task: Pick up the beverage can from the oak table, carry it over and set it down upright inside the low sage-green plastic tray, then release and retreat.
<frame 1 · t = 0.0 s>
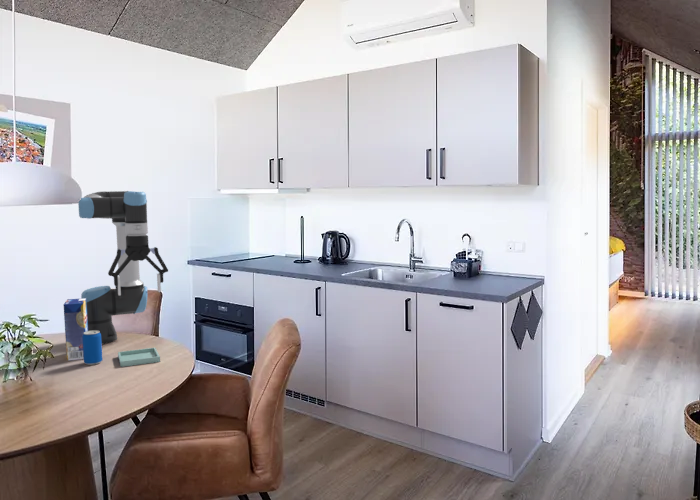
hand: (139, 293, 203), 28 cm above the table, fingers open, 13 cm apart
beverage box: (78, 356, 222), on the table
beverage can: (93, 363, 213), on the table
tray: (138, 359, 217), on the table
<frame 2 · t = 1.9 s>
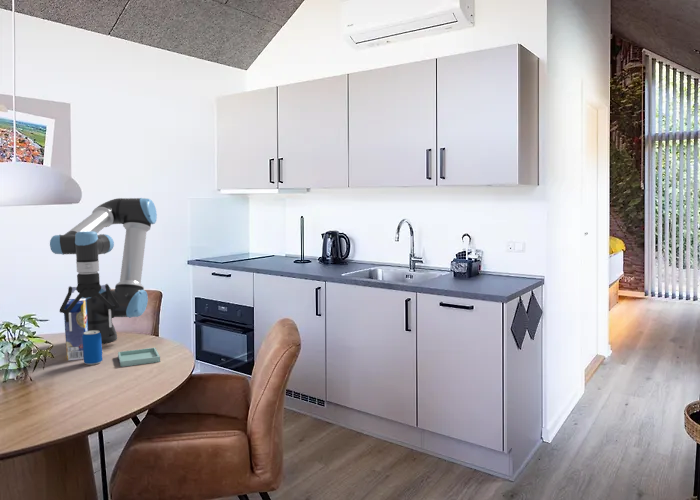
hand: (90, 328, 211), 13 cm above the table, fingers open, 13 cm apart
nothing on the table moved.
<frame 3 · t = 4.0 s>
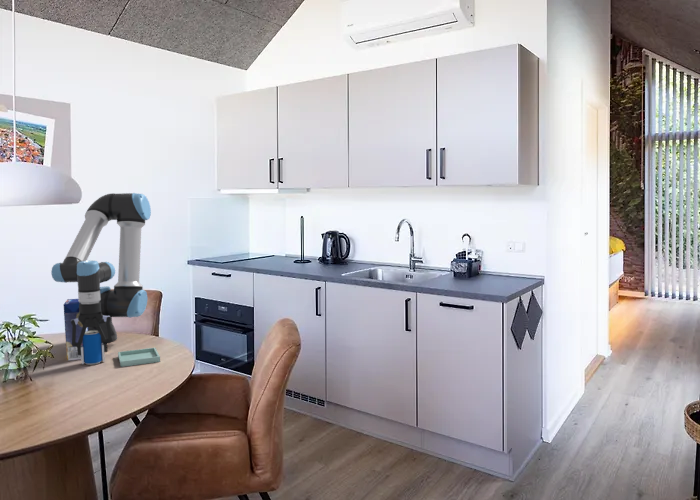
hand: (93, 361, 213), 0 cm above the table, fingers closed on beverage can, 6 cm apart
beverage can: (93, 363, 213), on the table, touching gripper
everything else where it was.
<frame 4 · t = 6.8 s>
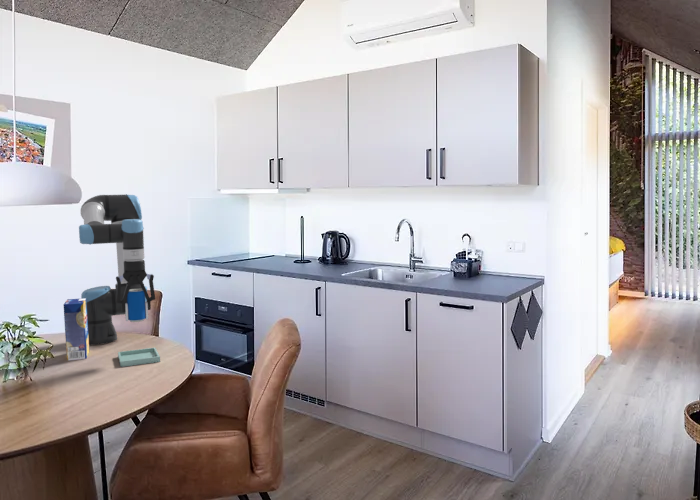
hand: (136, 319, 215), 16 cm above the table, fingers closed on beverage can, 6 cm apart
beverage can: (137, 321, 215), point 15 cm above the table, touching gripper
everything else where it was.
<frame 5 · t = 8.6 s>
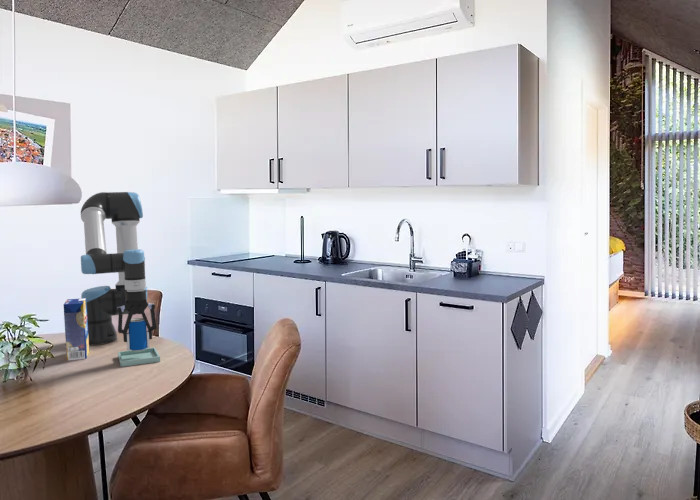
hand: (138, 348, 216), 4 cm above the table, fingers closed on beverage can, 6 cm apart
beverage can: (138, 350, 216), point 4 cm above the table, touching gripper
everything else where it was.
when the fingers open (3 cm above the table, at t = 9.8 s): beverage can drops 1 cm, resting on tray.
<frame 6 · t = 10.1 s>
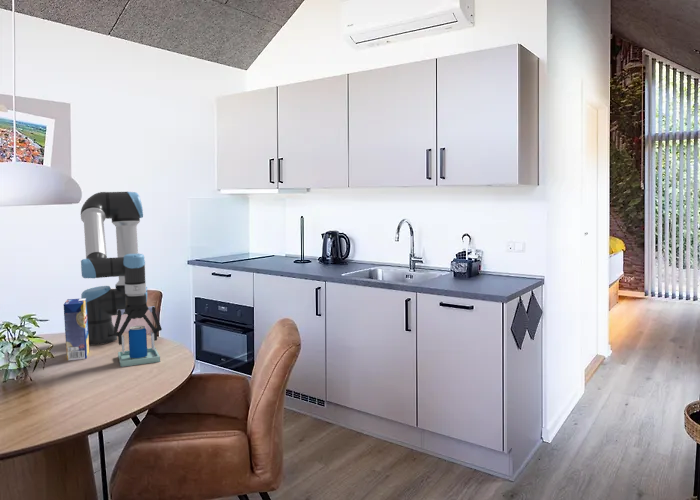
hand: (138, 350, 217), 3 cm above the table, fingers open, 10 cm apart
beverage can: (138, 358, 217), resting on tray
everything else where it was.
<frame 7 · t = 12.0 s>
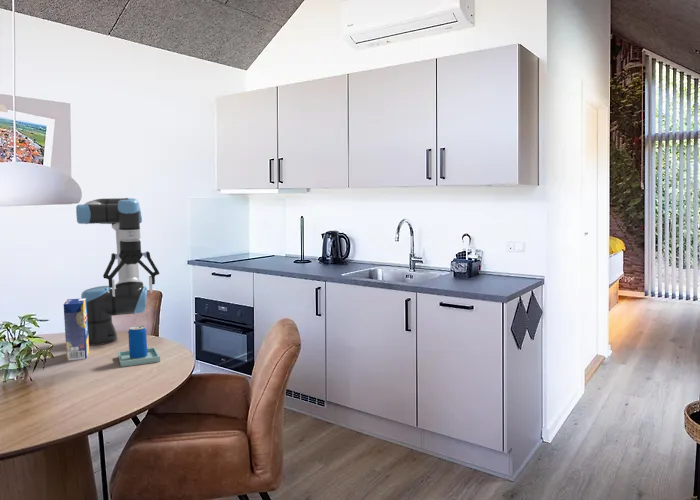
hand: (132, 294, 218), 25 cm above the table, fingers open, 13 cm apart
nothing on the table moved.
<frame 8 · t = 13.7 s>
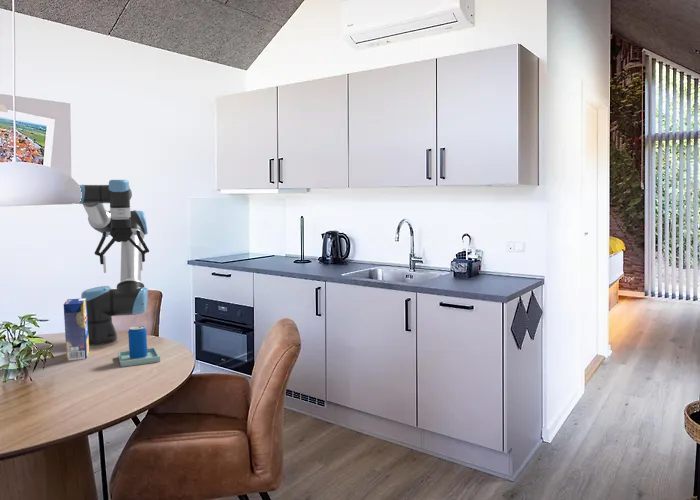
hand: (123, 271, 226), 33 cm above the table, fingers open, 13 cm apart
nothing on the table moved.
at the end: beverage can inside the target area on the tray (0.1 cm from its centre), point 0.4 cm above the tray's base; beverage can tilted 0°; the gripper is holding nothing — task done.
